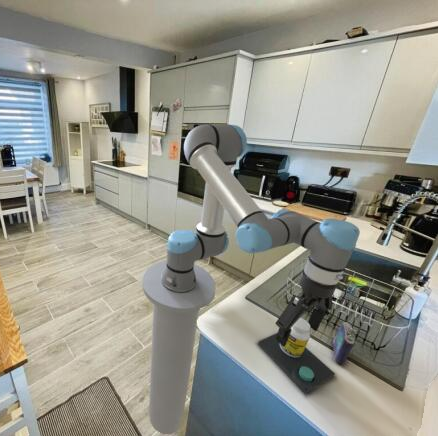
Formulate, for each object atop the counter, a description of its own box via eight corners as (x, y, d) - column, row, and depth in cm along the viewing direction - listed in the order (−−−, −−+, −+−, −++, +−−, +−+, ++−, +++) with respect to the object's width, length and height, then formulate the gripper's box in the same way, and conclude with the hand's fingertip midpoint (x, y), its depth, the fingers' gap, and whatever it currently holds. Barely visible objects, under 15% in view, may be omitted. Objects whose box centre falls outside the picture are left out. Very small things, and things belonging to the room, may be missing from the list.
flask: (332, 339, 79) (344, 316, 74) (343, 344, 77) (356, 320, 73) (333, 362, 71) (347, 337, 67) (346, 368, 70) (360, 343, 66)
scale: (256, 344, 76) (258, 338, 75) (284, 332, 81) (286, 325, 80) (305, 397, 63) (309, 390, 61) (335, 378, 67) (339, 371, 66)
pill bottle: (277, 351, 73) (287, 325, 68) (280, 336, 78) (290, 311, 73) (301, 362, 70) (312, 336, 65) (303, 347, 74) (314, 321, 70)
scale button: (296, 372, 66) (297, 368, 65) (303, 368, 67) (305, 364, 66) (307, 383, 63) (308, 380, 63) (315, 378, 64) (316, 375, 64)
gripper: (300, 300, 54) (277, 361, 63) (364, 274, 63) (336, 331, 72) (273, 280, 60) (255, 338, 69) (335, 259, 70) (312, 313, 79)
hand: (296, 334), depth 71 cm, fingers open, 13 cm apart
